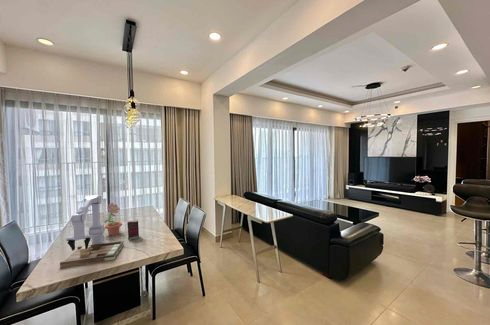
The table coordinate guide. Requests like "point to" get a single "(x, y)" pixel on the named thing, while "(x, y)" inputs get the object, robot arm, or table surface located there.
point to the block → (85, 251)
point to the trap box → (94, 254)
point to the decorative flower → (114, 226)
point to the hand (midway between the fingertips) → (80, 249)
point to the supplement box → (133, 229)
